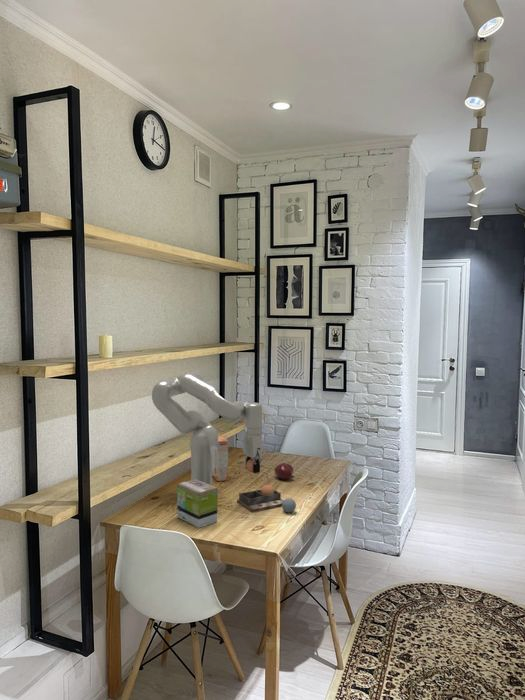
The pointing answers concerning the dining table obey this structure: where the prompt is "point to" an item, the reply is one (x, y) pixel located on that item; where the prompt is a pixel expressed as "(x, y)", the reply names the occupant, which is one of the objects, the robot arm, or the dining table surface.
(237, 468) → the dining table surface
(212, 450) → the cracker box
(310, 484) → the dining table surface
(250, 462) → the terracotta ball
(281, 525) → the dining table surface
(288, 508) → the slate ball
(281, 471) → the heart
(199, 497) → the tea box
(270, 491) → the seated terracotta ball
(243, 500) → the grey divided tray
